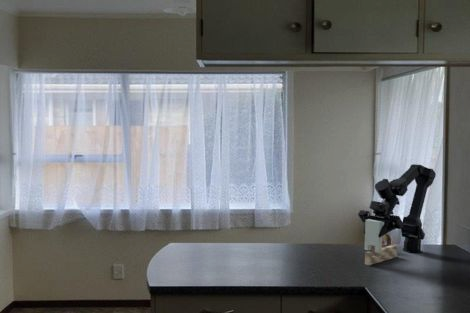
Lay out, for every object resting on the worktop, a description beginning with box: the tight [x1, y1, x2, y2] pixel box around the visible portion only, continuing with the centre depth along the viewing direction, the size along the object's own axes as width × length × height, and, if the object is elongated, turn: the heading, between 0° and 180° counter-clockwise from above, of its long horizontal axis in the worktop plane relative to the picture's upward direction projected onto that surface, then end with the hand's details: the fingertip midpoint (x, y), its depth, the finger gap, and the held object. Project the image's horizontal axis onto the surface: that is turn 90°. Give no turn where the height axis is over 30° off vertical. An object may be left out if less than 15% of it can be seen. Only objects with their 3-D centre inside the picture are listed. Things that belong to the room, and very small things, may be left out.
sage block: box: [364, 219, 384, 253], centre depth 207 cm, size 2×6×12 cm, turn 42°
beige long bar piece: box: [364, 244, 398, 266], centre depth 212 cm, size 22×2×5 cm, turn 132°
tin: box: [371, 233, 392, 250], centre depth 232 cm, size 15×3×8 cm, turn 25°
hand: (371, 235), depth 206 cm, fingers closed on sage block, 6 cm apart
